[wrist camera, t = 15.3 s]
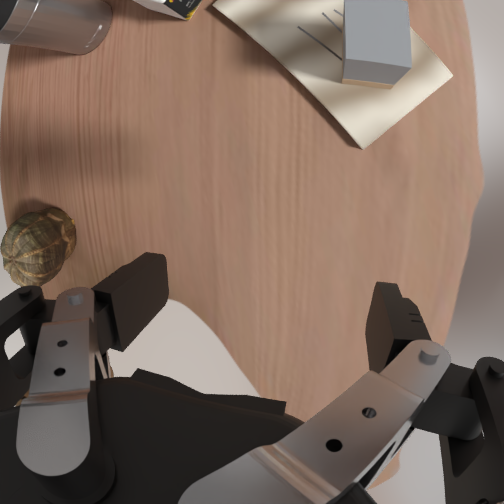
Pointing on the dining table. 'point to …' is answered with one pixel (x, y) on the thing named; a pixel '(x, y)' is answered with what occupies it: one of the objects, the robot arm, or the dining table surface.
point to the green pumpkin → (38, 246)
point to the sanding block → (375, 42)
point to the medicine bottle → (172, 7)
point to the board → (334, 62)
